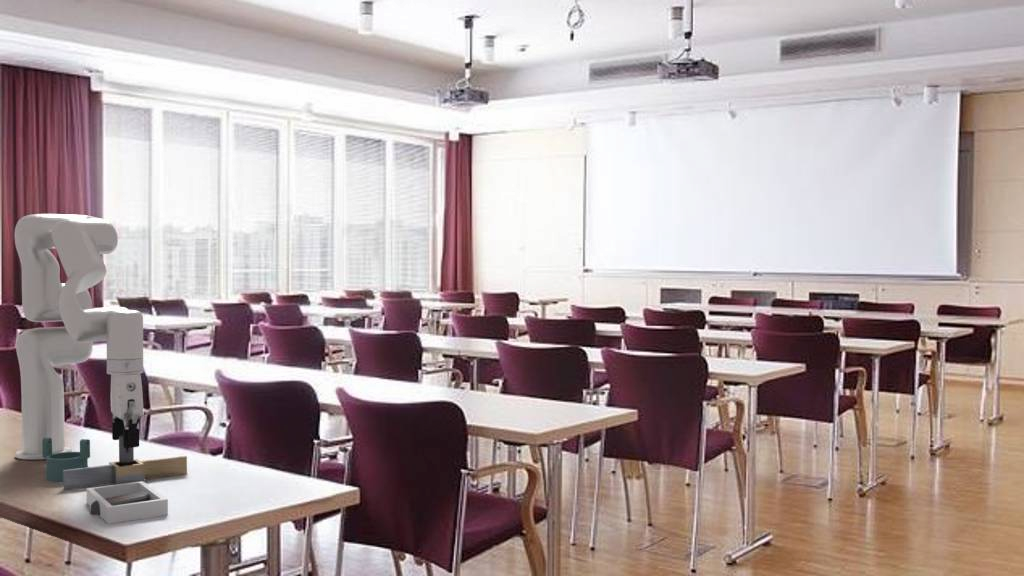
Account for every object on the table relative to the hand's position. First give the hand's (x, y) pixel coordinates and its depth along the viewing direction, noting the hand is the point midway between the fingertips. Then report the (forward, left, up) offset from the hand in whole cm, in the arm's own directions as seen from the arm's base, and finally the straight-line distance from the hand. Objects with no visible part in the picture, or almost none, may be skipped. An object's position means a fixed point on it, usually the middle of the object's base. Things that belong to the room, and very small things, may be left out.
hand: (125, 443), depth 220 cm
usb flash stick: (+24, -6, -9) cm, 27 cm away
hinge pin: (0, 0, -8) cm, 8 cm away
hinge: (0, 0, -8) cm, 8 cm away
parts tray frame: (+24, -6, -8) cm, 26 cm away
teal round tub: (-11, -10, -9) cm, 17 cm away
